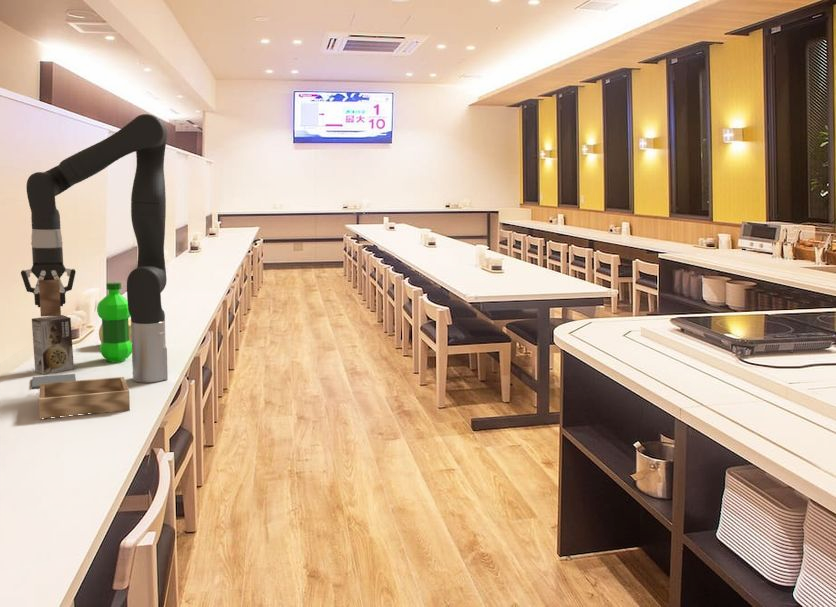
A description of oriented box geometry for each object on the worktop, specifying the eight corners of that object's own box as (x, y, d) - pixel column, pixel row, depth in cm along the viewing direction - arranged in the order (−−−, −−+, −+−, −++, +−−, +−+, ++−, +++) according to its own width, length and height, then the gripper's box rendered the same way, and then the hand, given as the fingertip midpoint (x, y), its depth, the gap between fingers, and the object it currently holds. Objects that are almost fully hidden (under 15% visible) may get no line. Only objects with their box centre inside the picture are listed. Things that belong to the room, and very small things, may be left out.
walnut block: (60, 312, 204) (59, 277, 203) (60, 315, 200) (59, 280, 198) (41, 313, 202) (39, 278, 201) (40, 316, 198) (38, 280, 196)
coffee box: (64, 365, 223) (61, 314, 220) (74, 369, 219) (71, 317, 216) (33, 370, 216) (30, 318, 213) (43, 374, 212) (40, 320, 209)
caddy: (124, 394, 193) (124, 376, 193) (129, 410, 180) (129, 391, 179) (41, 402, 185) (40, 383, 184) (40, 419, 171) (38, 399, 171)
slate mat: (75, 375, 211) (75, 373, 211) (76, 385, 202) (76, 382, 201) (32, 379, 206) (32, 377, 206) (31, 388, 197) (31, 386, 197)
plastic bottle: (139, 357, 236) (136, 281, 232) (123, 364, 226) (120, 286, 222) (110, 355, 237) (107, 280, 233) (93, 363, 227) (89, 284, 223)
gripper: (75, 244, 205) (78, 303, 207) (18, 244, 198) (21, 305, 201) (76, 246, 198) (79, 307, 201) (16, 246, 192) (20, 309, 194)
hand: (50, 306), depth 201 cm, fingers closed on walnut block, 5 cm apart
